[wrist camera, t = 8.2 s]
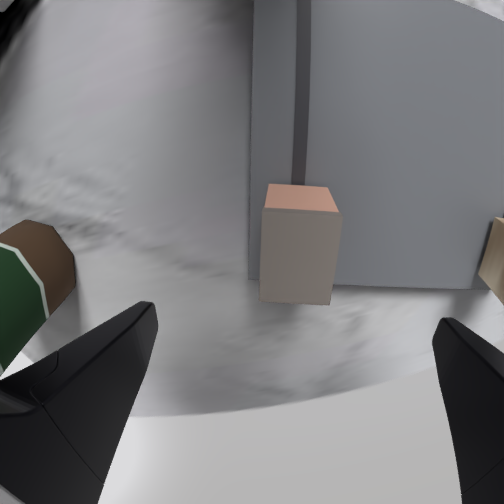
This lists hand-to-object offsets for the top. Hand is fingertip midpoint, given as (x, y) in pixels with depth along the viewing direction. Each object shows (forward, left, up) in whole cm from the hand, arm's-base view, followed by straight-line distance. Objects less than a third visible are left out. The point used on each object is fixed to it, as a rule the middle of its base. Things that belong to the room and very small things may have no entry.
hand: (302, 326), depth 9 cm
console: (-5, +7, -11) cm, 14 cm away
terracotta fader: (0, 0, -9) cm, 9 cm away
